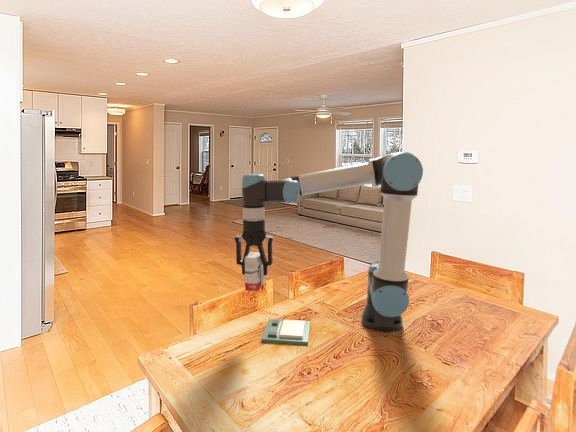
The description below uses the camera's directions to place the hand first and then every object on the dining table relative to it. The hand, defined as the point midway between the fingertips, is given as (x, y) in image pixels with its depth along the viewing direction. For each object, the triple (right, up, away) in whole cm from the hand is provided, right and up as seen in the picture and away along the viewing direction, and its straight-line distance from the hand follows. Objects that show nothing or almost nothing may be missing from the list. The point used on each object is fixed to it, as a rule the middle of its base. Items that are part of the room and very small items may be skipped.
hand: (255, 283), depth 135 cm
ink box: (0, -1, 0) cm, 1 cm away
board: (+11, -18, +3) cm, 22 cm away
